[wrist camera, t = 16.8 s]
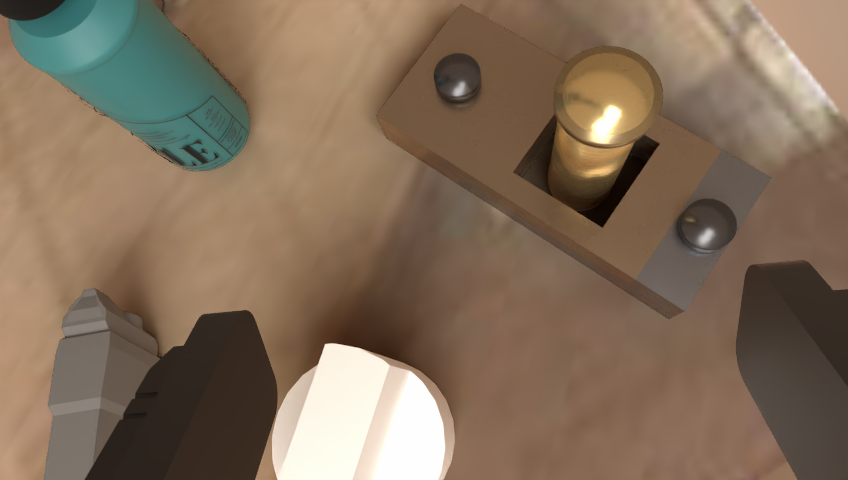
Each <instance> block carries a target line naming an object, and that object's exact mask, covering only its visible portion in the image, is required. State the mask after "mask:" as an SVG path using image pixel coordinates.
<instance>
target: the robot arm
mask: <svg viewBox="0 0 848 480" xmlns="http://www.w3.org/2000/svg"><path fill="white" fill-rule="evenodd" d="M151 1H152V2H153V3H154V4H155V5H156V6H157V7H158V8H159V9H160V11H161V12H162V7H163V0H151ZM736 355H737V361H738V366H739V370H740V373H741V376H742V378H743V381H744V383H745V385H746V386H747V388H748V390H749V392H750V394H751V396H752V397H753V399H754V401H755V403H756V405H757V406H758V408H759V410H760V412H761V414H762V416H763V417H764V419H765V421H766V423H767V425H768V427H769V428H770V430H771V432H772V434H773V436H774V437H775V439H776V441H777V443H778V445H779V447H780V448H781V450H782V452H783V454H784V456H785V458H786V459H787V461H788V463H789V465H790V467H791V468H792V470H793V472H794V474H795V476H796V478H797V479H798V480H848V290H847V289H845V290H834V291H833V290H832V289H831V287H830V286H829V285H828V284H827V283H826V282H825V280H824V279H823V278H822V277H821V276H820V275H819V274H818V272H817V271H816V270H815V269H814V268H813V267H812V265H811V264H809V263H808V262H807V261H804V260H798V261H787V262H777V263H766V264H755V265H751V266H749V268H748V269H747V271H746V274H745V280H744V287H743V294H742V302H741V309H740V316H739V324H738V331H737V338H736ZM276 409H277V384H276V379H275V376H274V373H273V370H272V367H271V364H270V361H269V358H268V356H267V353H266V350H265V347H264V344H263V341H262V338H261V335H260V333H259V330H258V327H257V324H256V321H255V319H254V317H253V315H252V314H251V312H249V311H247V310H243V311H232V312H222V313H211V314H203V315H202V316H201V317H200V318H199V319H198V321H197V322H196V324H195V326H194V328H193V330H192V332H191V333H190V335H189V337H188V339H187V341H186V343H185V344H184V346H176V347H173V348H172V349H171V350H170V351H169V352H167V353H166V354H165V355H164V356H163V357H162V358H161V359H160V360H159V361H158V362H157V363H155V364H154V365H153V366H152V367H151V368H150V369H149V371H148V372H147V374H146V376H145V377H144V379H143V381H142V383H141V384H140V386H139V388H138V389H137V391H136V393H135V399H132V400H131V401H130V403H129V405H128V406H127V408H126V410H125V411H124V413H123V420H119V422H118V423H117V425H116V427H115V428H114V430H113V432H112V434H111V435H110V437H109V439H108V440H107V442H106V444H105V446H104V447H103V449H102V451H101V452H100V454H99V456H98V457H97V459H96V461H95V463H94V464H93V466H92V468H91V469H90V471H89V473H88V474H87V476H86V478H85V480H255V478H256V475H257V471H258V468H259V465H260V462H261V459H262V456H263V452H264V449H265V446H266V443H267V440H268V437H269V433H270V430H271V427H272V424H273V421H274V418H275V414H276Z"/></svg>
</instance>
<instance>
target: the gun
mask: <svg viewBox="0 0 848 480" xmlns="http://www.w3.org/2000/svg"><path fill="white" fill-rule="evenodd" d="M142 326H143V320H142V319H141V318H140V317H139V316H138V315H136V314H134V313H131V312H125V311H121V310H120V309H119V308H118V307H117V306H116V304H115V303H114V302H113V301H112V300H111V299H110V298H109V297H108V296H106V295H105V294H103V293H102V292H100V291H98V290H97V289H95V288H92V289H87V290H84V291H83V293H82V295H81V296H80V297H79V298H78V299H77V300H76V301H75V302H74V303H73V304H72V305H71V307H70V309H69V310H68V312H67V314H66V315H65V316H64V317H63V323H62V330H63V332H64V335H65V338H63V339H61V340H60V341H59V344H58V348H57V351H56V355H55V362H54V369H53V375H52V382H51V389H50V396H49V402H48V407H49V409H50V411H51V413H52V414H53V421H52V428H51V434H50V441H49V447H48V454H47V460H46V467H45V473H44V480H85V478H86V476H87V474H88V473H89V471H90V469H91V468H92V466H93V464H94V463H95V461H96V459H97V457H98V456H99V454H100V452H101V451H102V449H103V447H104V446H105V444H106V442H107V440H108V439H109V437H110V435H111V434H112V432H113V430H114V428H115V427H116V425H117V423H118V422H119V420H123V413H124V411H125V410H126V408H127V406H128V405H129V403H130V401H131V400H132V399H135V393H136V391H137V389H138V388H139V386H140V384H141V383H142V381H143V379H144V377H145V376H146V374H147V372H148V371H149V369H150V368H151V367H152V366H153V365H154V364H155V363H157V362H158V361H159V360H160V358H158V357H157V355H158V345H157V342H156V340H155V338H153V337H152V336H151V335H149V334H148V333H147V332H145V331H144V330H143V329H142Z"/></svg>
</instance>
